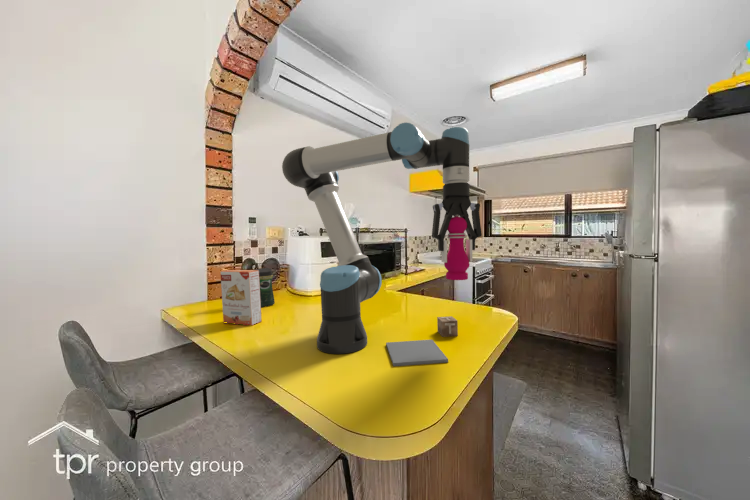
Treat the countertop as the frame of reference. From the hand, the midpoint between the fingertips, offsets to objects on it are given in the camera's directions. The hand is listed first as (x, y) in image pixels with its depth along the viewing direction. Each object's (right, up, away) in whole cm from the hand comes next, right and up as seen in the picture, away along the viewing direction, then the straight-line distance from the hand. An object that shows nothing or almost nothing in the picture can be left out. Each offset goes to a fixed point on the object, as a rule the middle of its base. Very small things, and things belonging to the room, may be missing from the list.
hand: (456, 261), depth 85 cm
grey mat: (-13, -25, -6) cm, 29 cm away
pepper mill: (0, -5, 0) cm, 5 cm away
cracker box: (-77, -26, +28) cm, 86 cm away
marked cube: (-1, -24, +8) cm, 25 cm away
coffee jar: (-79, -24, +57) cm, 101 cm away
